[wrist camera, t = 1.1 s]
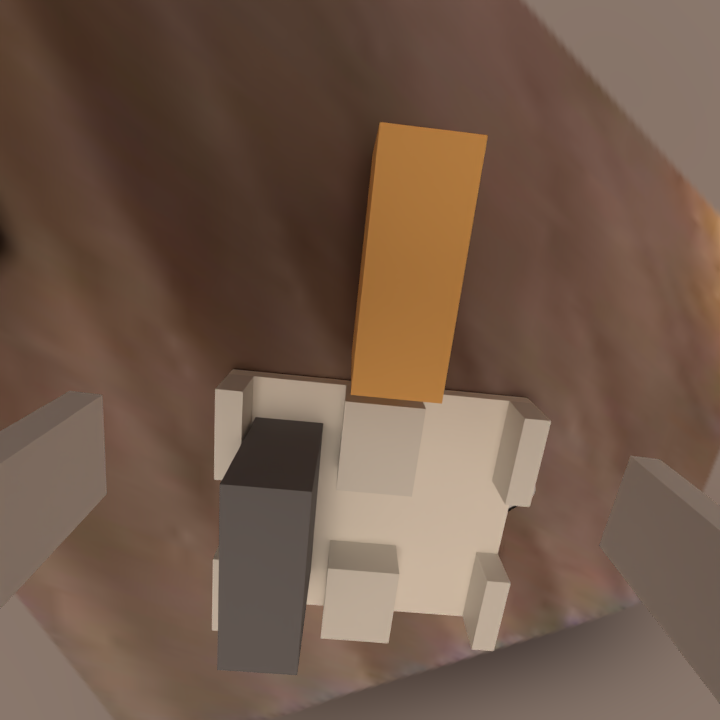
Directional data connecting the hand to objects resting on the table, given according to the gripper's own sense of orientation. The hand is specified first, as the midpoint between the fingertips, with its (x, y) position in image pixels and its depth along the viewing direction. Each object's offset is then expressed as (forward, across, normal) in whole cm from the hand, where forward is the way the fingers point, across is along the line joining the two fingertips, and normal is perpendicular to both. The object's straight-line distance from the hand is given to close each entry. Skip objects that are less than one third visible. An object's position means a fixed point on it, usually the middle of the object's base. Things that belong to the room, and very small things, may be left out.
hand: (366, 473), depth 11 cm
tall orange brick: (+18, +2, +4) cm, 19 cm away
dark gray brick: (+17, -4, -13) cm, 22 cm away
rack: (+18, +2, -13) cm, 22 cm away
